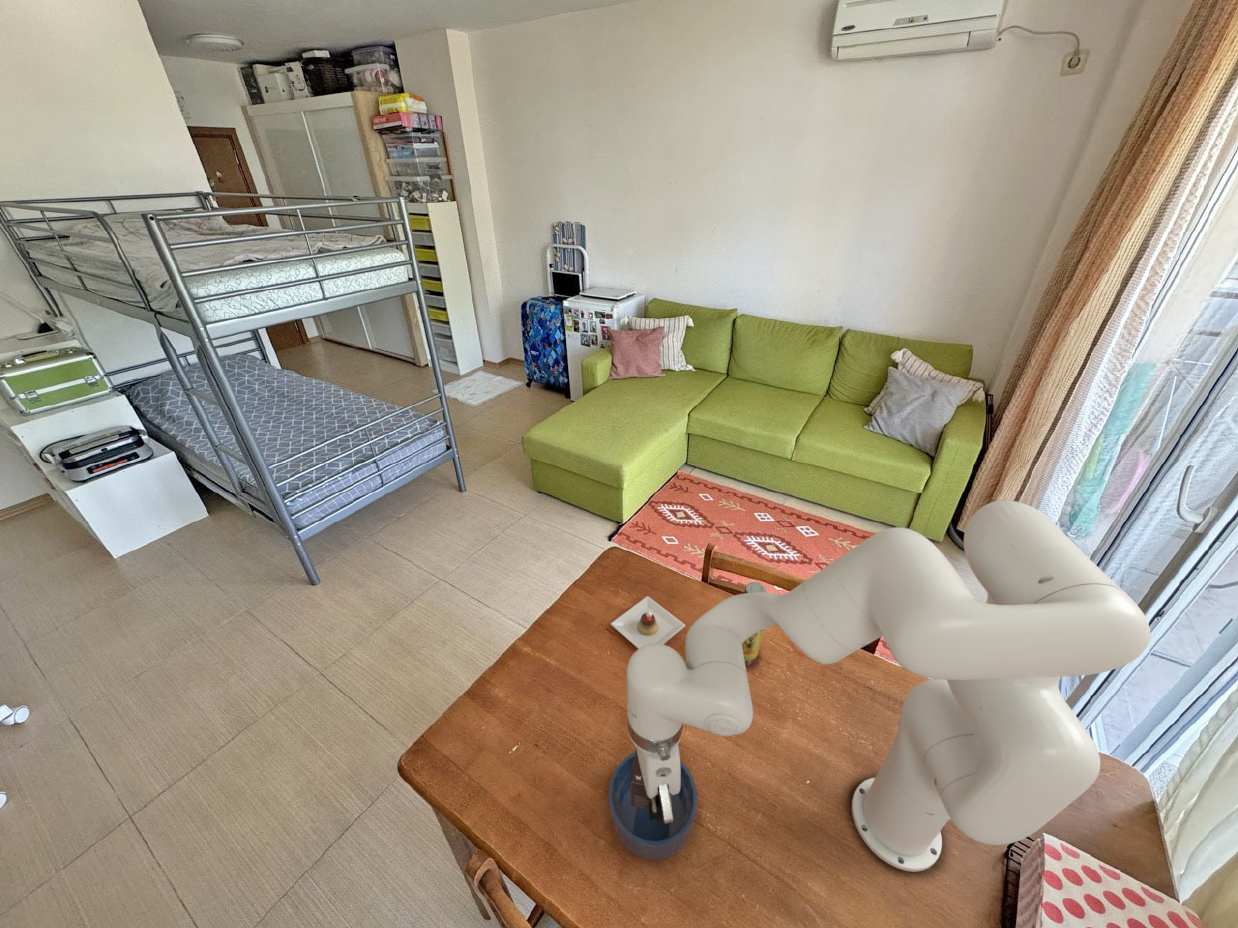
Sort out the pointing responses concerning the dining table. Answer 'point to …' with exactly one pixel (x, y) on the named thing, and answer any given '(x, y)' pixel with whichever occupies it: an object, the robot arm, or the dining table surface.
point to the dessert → (647, 624)
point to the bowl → (635, 823)
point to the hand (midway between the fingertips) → (652, 784)
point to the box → (639, 787)
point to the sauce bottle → (754, 641)
